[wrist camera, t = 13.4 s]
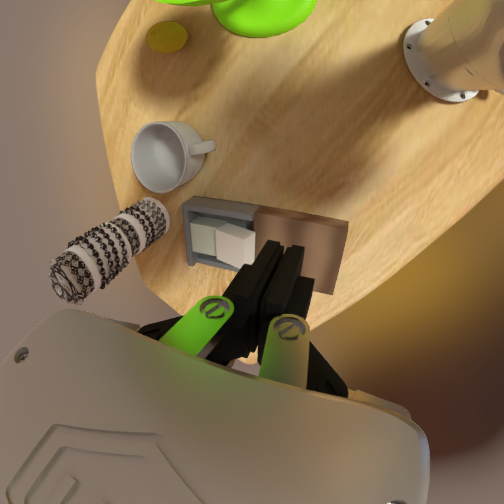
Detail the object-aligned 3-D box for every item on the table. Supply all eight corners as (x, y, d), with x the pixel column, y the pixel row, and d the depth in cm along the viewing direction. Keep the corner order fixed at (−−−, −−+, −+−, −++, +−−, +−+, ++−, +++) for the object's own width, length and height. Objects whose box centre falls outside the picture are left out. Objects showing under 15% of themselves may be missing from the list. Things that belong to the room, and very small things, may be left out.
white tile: (255, 232, 43) (243, 239, 41) (254, 261, 46) (243, 270, 43) (227, 222, 45) (215, 229, 43) (228, 251, 48) (216, 258, 46)
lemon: (184, 61, 35) (152, 57, 28) (162, 47, 34) (130, 43, 28) (203, 34, 31) (173, 25, 25) (180, 21, 31) (149, 12, 24)
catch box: (260, 205, 44) (252, 215, 40) (257, 267, 50) (249, 280, 47) (194, 195, 47) (182, 203, 44) (198, 254, 53) (188, 265, 50)
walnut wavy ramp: (348, 221, 40) (348, 229, 37) (334, 284, 46) (332, 295, 44) (260, 205, 44) (254, 212, 41) (257, 267, 50) (251, 277, 48)
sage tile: (227, 220, 46) (219, 228, 44) (227, 248, 49) (220, 257, 47) (198, 216, 48) (189, 223, 45) (200, 243, 51) (192, 251, 48)
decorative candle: (154, 186, 49) (47, 252, 28) (180, 227, 51) (86, 309, 31) (129, 206, 53) (36, 270, 33) (152, 243, 56) (68, 317, 36)
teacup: (161, 177, 47) (133, 191, 41) (157, 118, 41) (125, 125, 35) (231, 182, 43) (208, 198, 37) (231, 115, 38) (205, 119, 31)
